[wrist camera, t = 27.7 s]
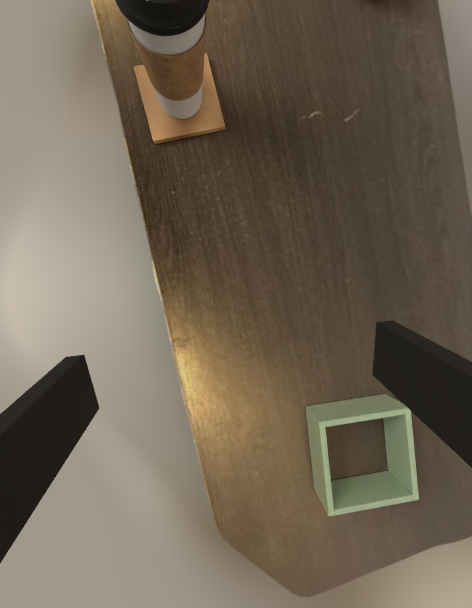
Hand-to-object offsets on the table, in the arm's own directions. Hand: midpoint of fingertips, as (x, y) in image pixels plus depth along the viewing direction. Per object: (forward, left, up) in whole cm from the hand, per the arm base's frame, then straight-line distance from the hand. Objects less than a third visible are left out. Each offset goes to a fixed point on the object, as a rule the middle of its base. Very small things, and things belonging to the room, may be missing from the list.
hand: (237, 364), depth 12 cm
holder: (+22, -16, -25) cm, 37 cm away
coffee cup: (-9, +29, -25) cm, 39 cm away
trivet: (-9, +29, -25) cm, 40 cm away
